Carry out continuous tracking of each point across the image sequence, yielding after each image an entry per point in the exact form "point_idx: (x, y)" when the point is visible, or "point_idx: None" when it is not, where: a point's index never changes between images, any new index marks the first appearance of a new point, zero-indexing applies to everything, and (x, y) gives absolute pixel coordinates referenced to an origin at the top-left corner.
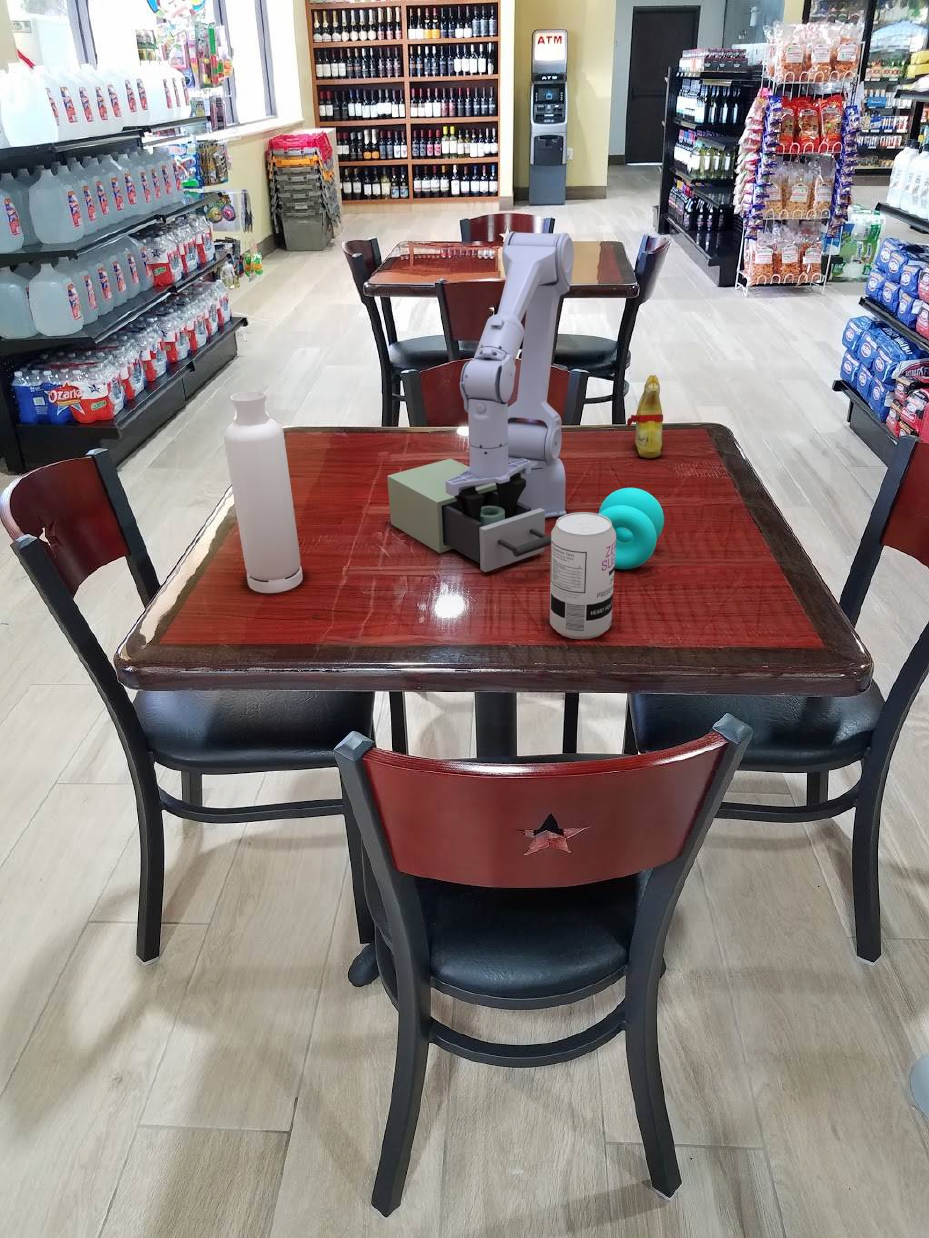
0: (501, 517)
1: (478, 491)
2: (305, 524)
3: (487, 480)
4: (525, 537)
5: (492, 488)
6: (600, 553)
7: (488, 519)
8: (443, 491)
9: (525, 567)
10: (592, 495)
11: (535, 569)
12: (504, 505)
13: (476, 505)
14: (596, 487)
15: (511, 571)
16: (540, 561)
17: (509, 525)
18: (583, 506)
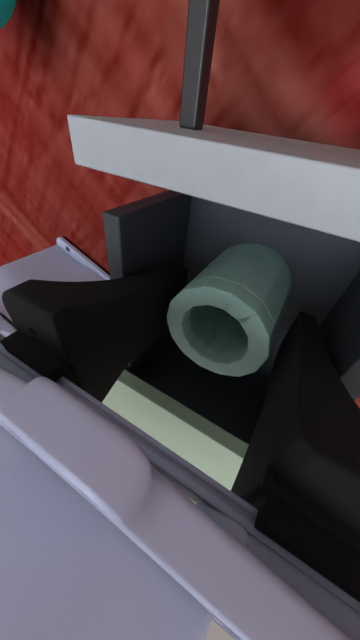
0: (216, 282)
1: (159, 401)
2: None
3: (204, 571)
4: (231, 134)
5: (122, 374)
6: None
7: (264, 316)
8: (222, 473)
9: (291, 105)
10: (15, 244)
11: (288, 51)
12: (153, 312)
13: (347, 424)
14: (7, 253)
15: (352, 122)
16: (223, 102)
17: (319, 157)
18: (33, 233)
